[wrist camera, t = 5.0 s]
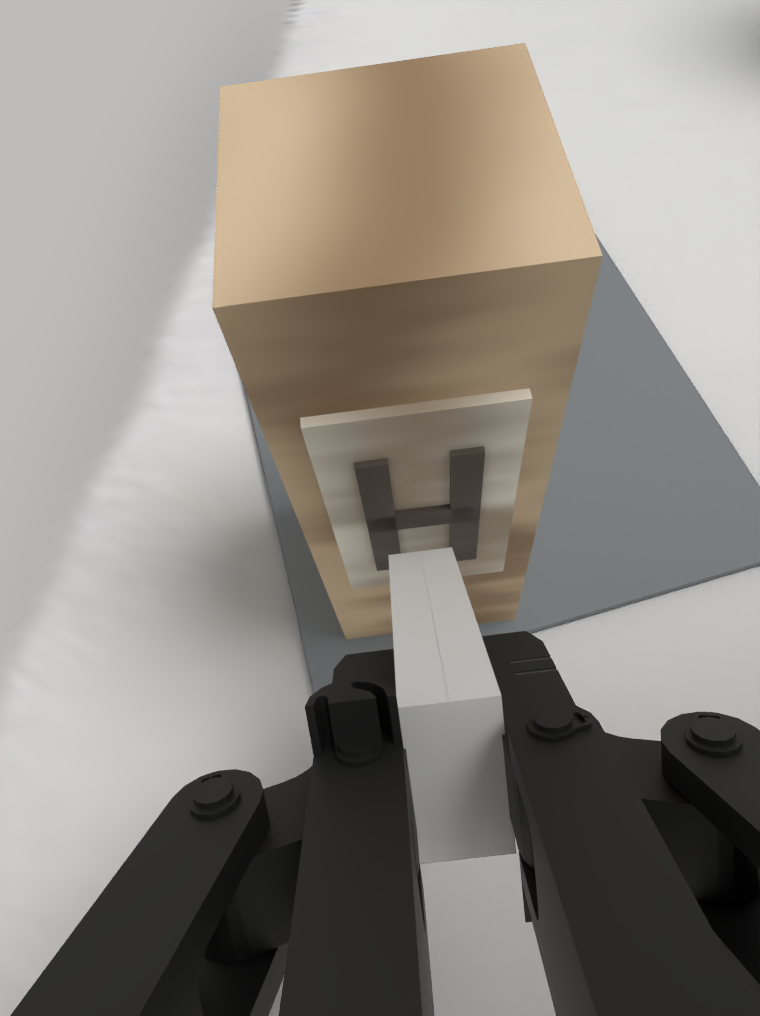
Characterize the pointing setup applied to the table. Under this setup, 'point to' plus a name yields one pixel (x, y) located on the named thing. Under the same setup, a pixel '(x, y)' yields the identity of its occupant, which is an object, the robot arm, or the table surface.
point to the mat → (591, 492)
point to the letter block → (405, 310)
